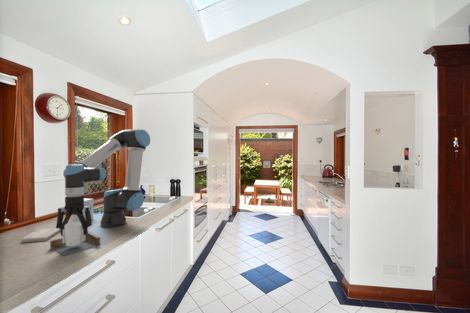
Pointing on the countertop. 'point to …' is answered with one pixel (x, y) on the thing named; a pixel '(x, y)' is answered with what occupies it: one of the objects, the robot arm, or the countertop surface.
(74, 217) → the supplement box
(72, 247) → the mat
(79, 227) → the white cup
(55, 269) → the countertop surface
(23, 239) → the washcloth
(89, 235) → the corner walls
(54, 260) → the countertop surface
